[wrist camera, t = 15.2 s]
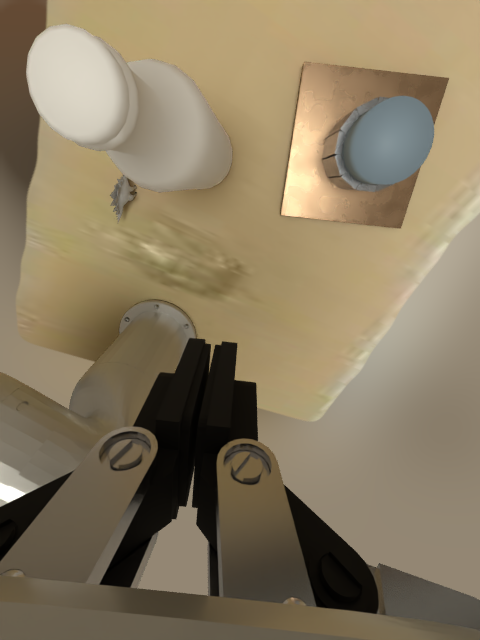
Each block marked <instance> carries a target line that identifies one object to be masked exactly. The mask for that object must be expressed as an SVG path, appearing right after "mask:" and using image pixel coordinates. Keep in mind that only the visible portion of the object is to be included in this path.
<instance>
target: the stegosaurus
mask: <svg viewBox="0 0 480 640" xmlns="http://www.w3.org/2000/svg"><path fill="white" fill-rule="evenodd" d="M117 180H118V184H116V185H114V186H115V189H114V191H113V192H112V193H111V195H110V196H111V197H112V198H113V199H114V200H113V202H112V203H111V206H114V205H116V207H115V208H114V210H113V212H114V211H117V213H116V214H117V215H118V216H116V217H118V222H119V220H120V218H121V215H122V211H123V206H124V205H125V204H126V203H127V202H128V201H132V200H133V199H134V197H135V196H136V192H135V194H134V195H132V194H131V193H130V191H134V189H137V187H136V185H134V187H130V185H129V183H128V179H127V177H125V176H124V175H123V177H121V179H117Z"/></svg>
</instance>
